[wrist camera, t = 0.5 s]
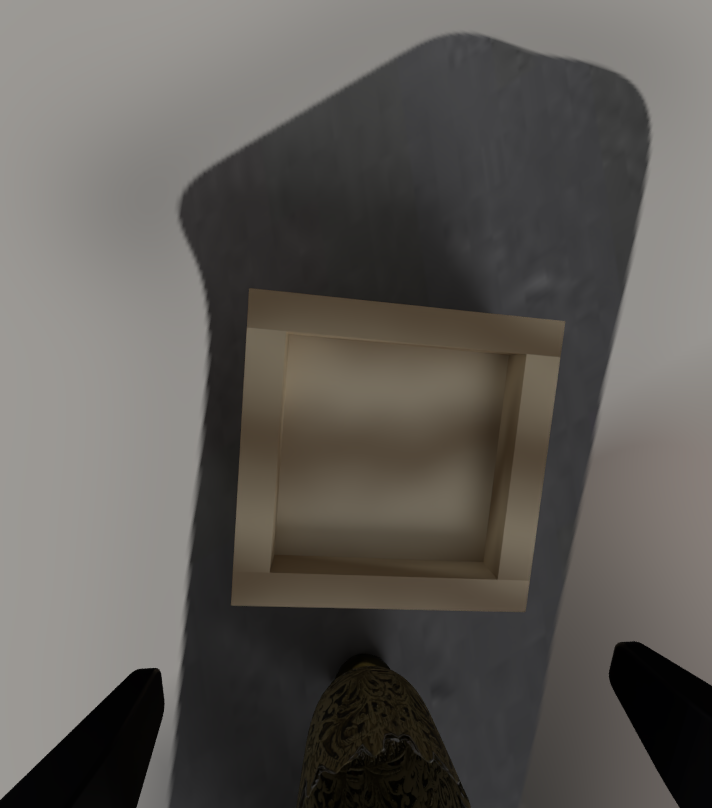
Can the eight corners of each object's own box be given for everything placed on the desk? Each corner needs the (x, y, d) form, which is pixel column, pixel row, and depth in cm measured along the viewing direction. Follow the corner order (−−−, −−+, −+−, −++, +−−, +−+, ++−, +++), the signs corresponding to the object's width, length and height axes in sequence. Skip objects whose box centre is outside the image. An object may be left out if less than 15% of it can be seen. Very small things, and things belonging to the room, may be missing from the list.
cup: (291, 723, 23) (274, 913, 15) (315, 611, 22) (311, 748, 14) (407, 734, 24) (450, 921, 16) (433, 628, 23) (491, 766, 15)
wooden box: (472, 547, 23) (525, 611, 17) (256, 539, 21) (230, 605, 15) (497, 333, 21) (565, 321, 16) (270, 311, 20) (249, 287, 14)
